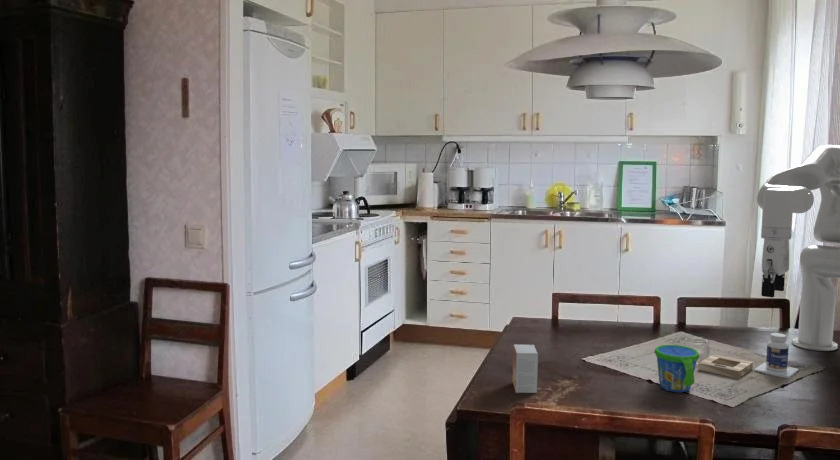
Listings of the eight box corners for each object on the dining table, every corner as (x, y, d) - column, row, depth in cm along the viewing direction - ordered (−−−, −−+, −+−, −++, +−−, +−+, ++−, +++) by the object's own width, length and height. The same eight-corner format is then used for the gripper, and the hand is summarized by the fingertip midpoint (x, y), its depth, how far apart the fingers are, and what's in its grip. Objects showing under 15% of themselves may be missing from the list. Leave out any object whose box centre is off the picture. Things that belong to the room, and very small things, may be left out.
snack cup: (706, 399, 182) (709, 359, 181) (664, 399, 182) (666, 359, 181) (684, 378, 198) (686, 342, 196) (645, 378, 198) (647, 341, 196)
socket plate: (713, 360, 213) (713, 353, 213) (752, 369, 206) (753, 361, 206) (698, 369, 205) (698, 362, 205) (739, 378, 198) (739, 370, 198)
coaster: (764, 364, 210) (764, 362, 210) (798, 370, 204) (798, 368, 204) (754, 371, 204) (754, 369, 204) (788, 378, 198) (789, 376, 198)
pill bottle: (768, 371, 202) (770, 336, 201) (763, 365, 207) (765, 331, 206) (789, 372, 201) (792, 337, 200) (784, 366, 206) (786, 332, 205)
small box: (512, 382, 194) (513, 343, 193) (533, 382, 194) (534, 344, 192) (515, 393, 186) (515, 352, 185) (537, 393, 186) (538, 353, 184)
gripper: (782, 238, 194) (778, 301, 196) (799, 230, 207) (795, 289, 209) (752, 235, 199) (749, 297, 201) (770, 228, 212) (767, 286, 214)
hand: (772, 293), depth 205 cm, fingers open, 9 cm apart
